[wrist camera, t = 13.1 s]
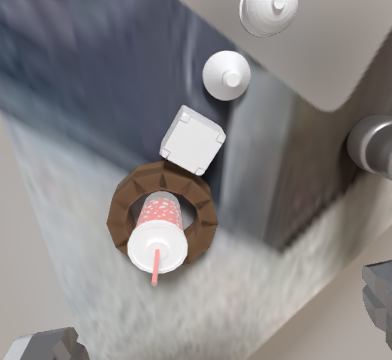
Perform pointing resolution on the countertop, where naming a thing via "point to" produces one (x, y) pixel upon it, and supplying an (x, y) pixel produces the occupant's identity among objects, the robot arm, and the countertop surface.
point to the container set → (222, 87)
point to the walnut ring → (169, 181)
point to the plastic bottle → (372, 145)
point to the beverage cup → (158, 236)
